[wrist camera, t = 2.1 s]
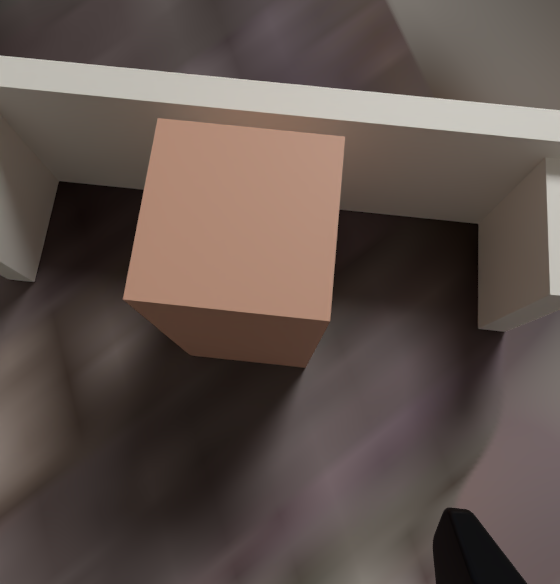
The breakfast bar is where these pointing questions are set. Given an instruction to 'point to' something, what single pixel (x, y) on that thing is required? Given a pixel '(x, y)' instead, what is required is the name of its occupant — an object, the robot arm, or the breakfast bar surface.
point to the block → (238, 240)
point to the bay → (309, 119)
